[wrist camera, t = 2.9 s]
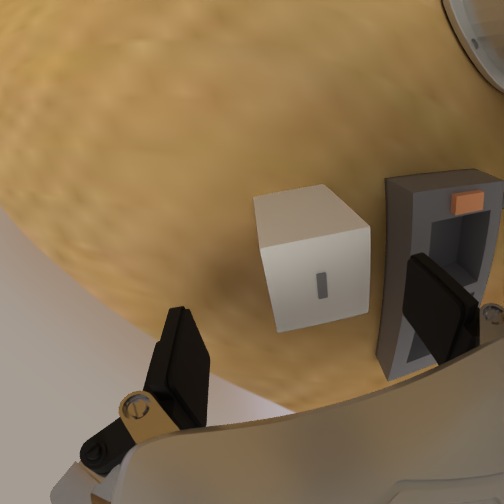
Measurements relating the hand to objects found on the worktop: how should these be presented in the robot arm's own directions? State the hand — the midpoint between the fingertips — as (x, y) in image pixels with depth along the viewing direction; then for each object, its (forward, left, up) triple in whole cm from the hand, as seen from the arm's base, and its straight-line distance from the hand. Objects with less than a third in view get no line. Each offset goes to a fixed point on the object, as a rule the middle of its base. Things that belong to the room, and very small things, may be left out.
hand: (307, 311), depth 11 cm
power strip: (+6, +15, -8) cm, 18 cm away
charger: (-1, +1, -8) cm, 8 cm away
